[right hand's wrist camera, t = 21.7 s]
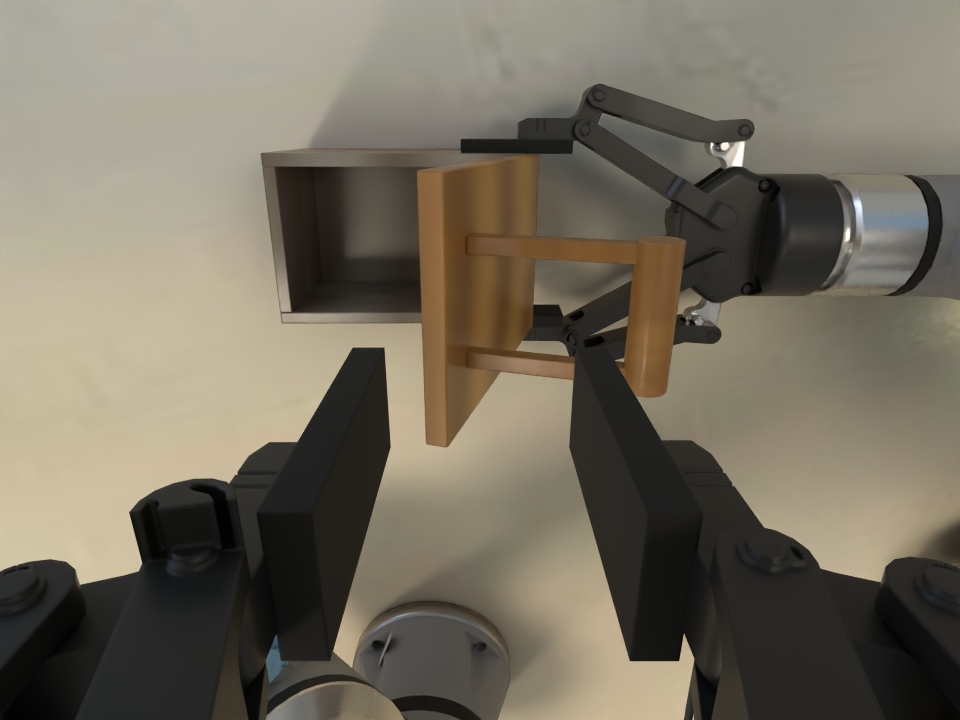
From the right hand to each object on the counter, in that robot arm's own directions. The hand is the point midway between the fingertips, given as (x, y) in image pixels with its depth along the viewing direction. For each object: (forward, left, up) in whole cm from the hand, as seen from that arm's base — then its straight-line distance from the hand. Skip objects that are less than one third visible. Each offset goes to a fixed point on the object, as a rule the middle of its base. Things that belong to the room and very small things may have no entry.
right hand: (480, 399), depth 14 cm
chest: (-3, +4, -30) cm, 31 cm away
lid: (0, 0, -14) cm, 14 cm away
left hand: (-1, +1, -25) cm, 25 cm away
